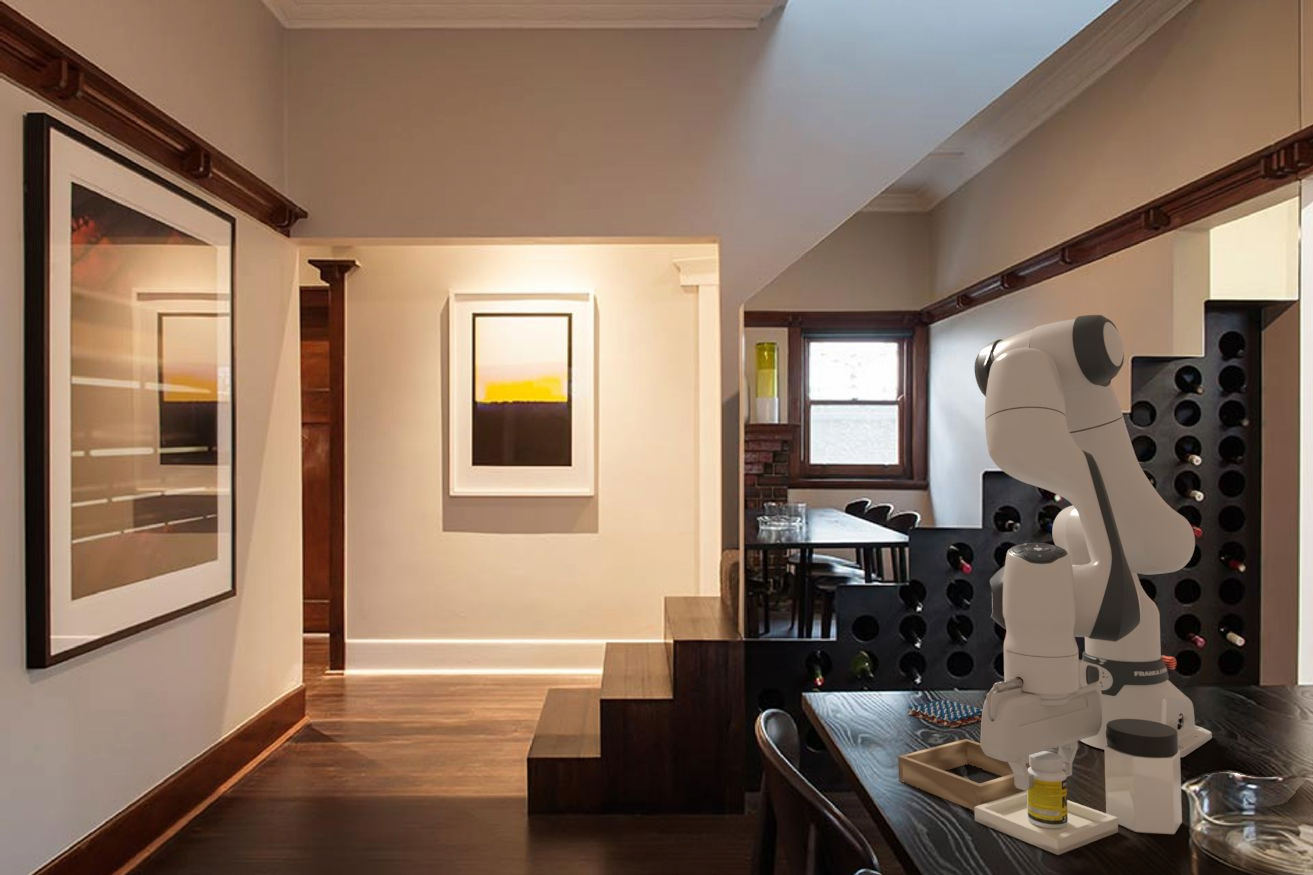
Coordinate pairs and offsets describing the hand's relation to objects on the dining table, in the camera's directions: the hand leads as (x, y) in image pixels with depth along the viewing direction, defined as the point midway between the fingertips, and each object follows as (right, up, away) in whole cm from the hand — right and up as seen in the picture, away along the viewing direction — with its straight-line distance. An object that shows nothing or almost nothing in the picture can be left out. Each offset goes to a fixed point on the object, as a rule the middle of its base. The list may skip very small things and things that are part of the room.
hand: (1043, 781), depth 115 cm
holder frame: (-4, -6, +14) cm, 16 cm away
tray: (0, -6, 0) cm, 6 cm away
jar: (+13, -6, +1) cm, 14 cm away
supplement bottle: (0, -5, 0) cm, 5 cm away
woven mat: (+4, -7, +49) cm, 49 cm away
